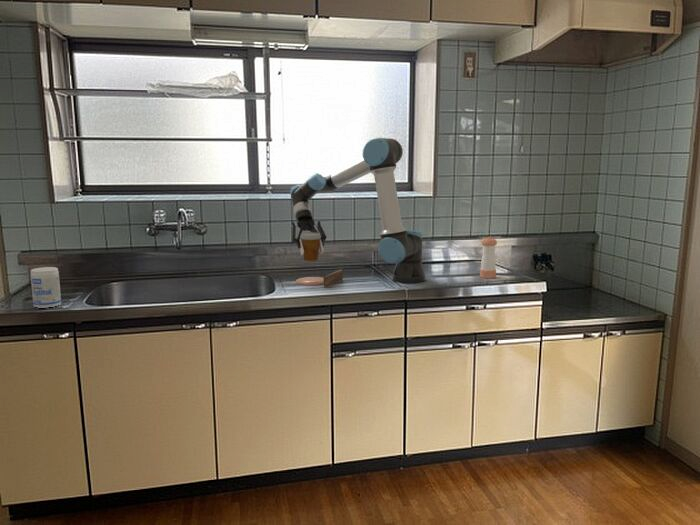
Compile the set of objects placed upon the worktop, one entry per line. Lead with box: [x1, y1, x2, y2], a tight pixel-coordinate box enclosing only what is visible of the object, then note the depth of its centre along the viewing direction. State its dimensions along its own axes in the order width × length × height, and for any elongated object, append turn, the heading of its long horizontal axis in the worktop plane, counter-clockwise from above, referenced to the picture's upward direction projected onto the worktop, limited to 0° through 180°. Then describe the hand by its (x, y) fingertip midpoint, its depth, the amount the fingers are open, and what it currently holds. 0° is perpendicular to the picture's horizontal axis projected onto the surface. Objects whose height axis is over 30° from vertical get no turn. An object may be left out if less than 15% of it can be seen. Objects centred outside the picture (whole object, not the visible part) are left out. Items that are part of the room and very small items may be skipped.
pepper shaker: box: [479, 236, 498, 279], centre depth 259 cm, size 7×7×19 cm
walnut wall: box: [323, 269, 344, 289], centre depth 248 cm, size 2×16×5 cm, turn 155°
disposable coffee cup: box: [300, 231, 321, 262], centre depth 250 cm, size 10×10×12 cm
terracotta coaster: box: [295, 276, 324, 286], centre depth 253 cm, size 15×15×1 cm
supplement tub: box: [30, 266, 62, 309], centre depth 213 cm, size 10×10×15 cm
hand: (312, 253), depth 248 cm, fingers closed on disposable coffee cup, 8 cm apart
